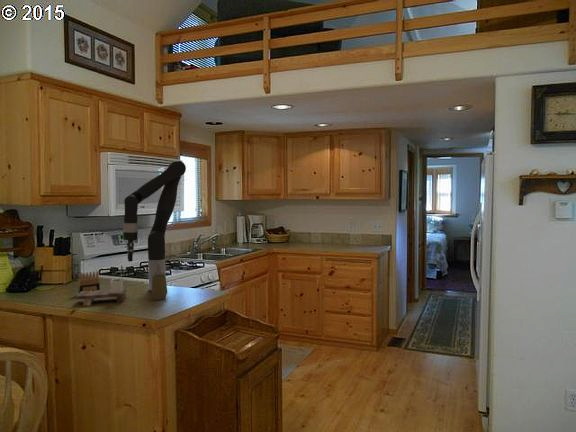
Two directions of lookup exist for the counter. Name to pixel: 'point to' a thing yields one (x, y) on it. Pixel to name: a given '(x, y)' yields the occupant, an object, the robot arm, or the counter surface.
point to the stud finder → (116, 285)
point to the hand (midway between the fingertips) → (130, 260)
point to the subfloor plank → (100, 296)
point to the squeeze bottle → (159, 284)
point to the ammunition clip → (89, 282)
